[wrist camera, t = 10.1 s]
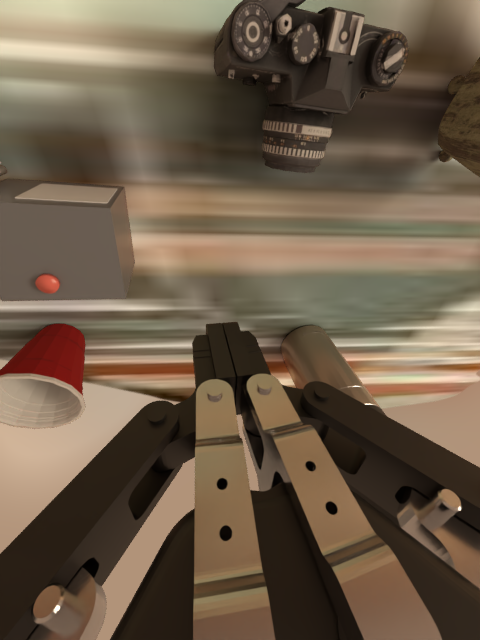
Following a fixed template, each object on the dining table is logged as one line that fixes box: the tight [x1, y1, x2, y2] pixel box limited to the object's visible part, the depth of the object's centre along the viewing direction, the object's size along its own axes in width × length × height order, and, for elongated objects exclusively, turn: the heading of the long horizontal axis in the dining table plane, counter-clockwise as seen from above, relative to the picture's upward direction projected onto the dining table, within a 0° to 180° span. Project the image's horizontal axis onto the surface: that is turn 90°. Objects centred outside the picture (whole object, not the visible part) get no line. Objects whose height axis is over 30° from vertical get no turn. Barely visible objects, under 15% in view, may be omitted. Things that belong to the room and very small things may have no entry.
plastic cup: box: [0, 324, 85, 429], centre depth 35 cm, size 11×11×12 cm
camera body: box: [0, 179, 135, 301], centre depth 27 cm, size 9×13×10 cm
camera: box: [214, 0, 409, 173], centre depth 24 cm, size 14×11×10 cm
